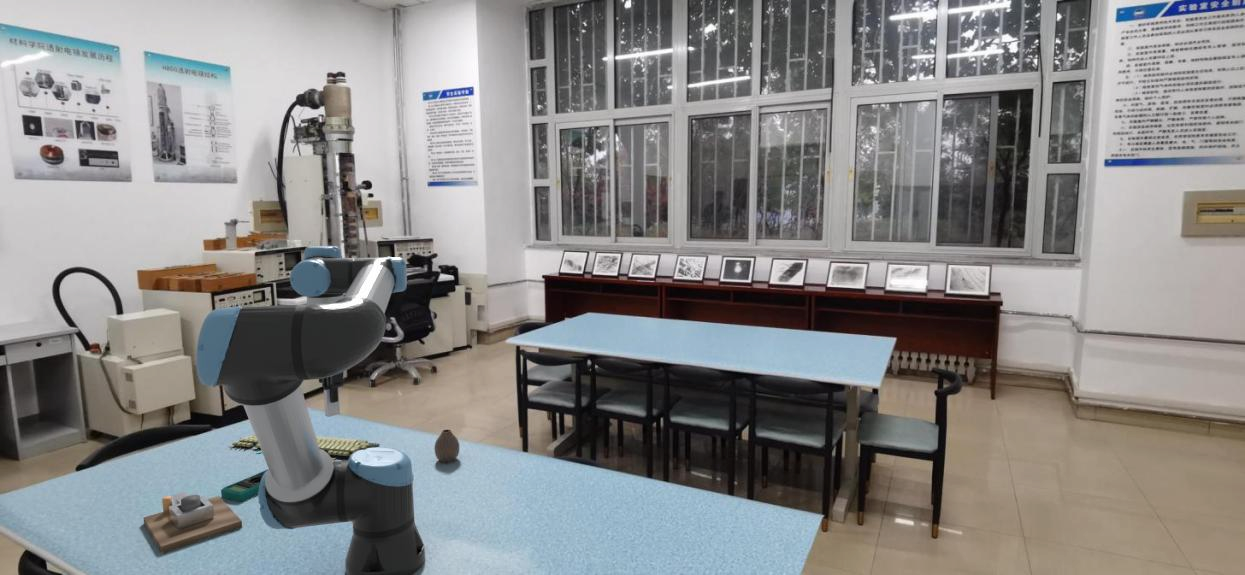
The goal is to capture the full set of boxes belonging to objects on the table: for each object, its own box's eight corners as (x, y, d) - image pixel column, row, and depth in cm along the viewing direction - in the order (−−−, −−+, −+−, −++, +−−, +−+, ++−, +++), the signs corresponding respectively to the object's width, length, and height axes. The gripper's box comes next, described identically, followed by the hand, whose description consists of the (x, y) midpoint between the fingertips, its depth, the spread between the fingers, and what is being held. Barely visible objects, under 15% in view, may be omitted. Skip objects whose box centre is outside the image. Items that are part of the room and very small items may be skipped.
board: (242, 526, 142) (239, 499, 141) (161, 553, 131) (158, 524, 131) (219, 501, 154) (217, 476, 154) (144, 523, 144) (141, 496, 143)
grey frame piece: (214, 517, 143) (213, 505, 143) (179, 529, 138) (177, 516, 138) (196, 500, 151) (195, 488, 151) (162, 510, 146) (161, 498, 146)
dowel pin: (173, 512, 146) (172, 497, 146) (164, 514, 145) (163, 500, 144) (171, 509, 147) (170, 495, 147) (162, 512, 146) (161, 497, 146)
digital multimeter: (292, 480, 168) (291, 469, 167) (239, 504, 154) (238, 492, 154) (273, 475, 170) (272, 465, 170) (220, 499, 157) (219, 487, 157)
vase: (433, 457, 182) (432, 428, 181) (457, 453, 185) (456, 425, 184) (436, 466, 176) (435, 436, 174) (461, 462, 178) (460, 432, 177)
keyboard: (380, 448, 191) (380, 440, 191) (349, 467, 177) (348, 459, 177) (257, 434, 202) (256, 427, 201) (218, 452, 188) (217, 444, 187)
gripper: (355, 315, 140) (361, 417, 143) (331, 309, 149) (337, 405, 152) (321, 319, 135) (327, 425, 138) (298, 313, 144) (304, 412, 147)
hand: (332, 414), depth 145 cm, fingers closed
